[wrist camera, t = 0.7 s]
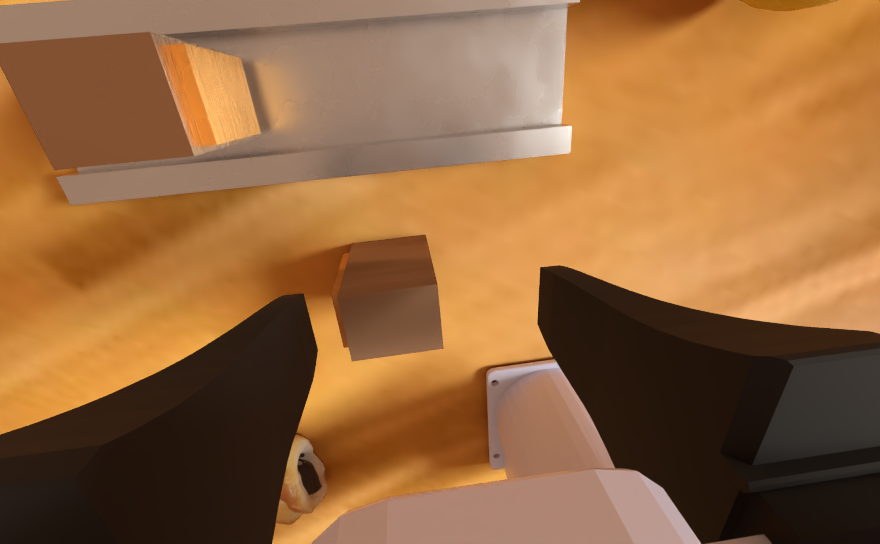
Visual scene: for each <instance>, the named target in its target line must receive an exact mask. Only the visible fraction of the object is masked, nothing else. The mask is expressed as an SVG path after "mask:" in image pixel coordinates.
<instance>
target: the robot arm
mask: <svg viewBox="0 0 880 544" xmlns="http://www.w3.org/2000/svg"><path fill="white" fill-rule="evenodd" d="M538 326H539V328H540V331H541V333H542V336H543V338H544V340H545V342H546V345H547V347H548V349H549V351H550V352H551V354H552V356H553V357H554V359H552V360H545V361H538V362H531V363H524V364H517V365H510V366H503V367H496V368H491V369H489V370H488V371H487V373H486V386H487V413H488V440H489V463H490V466H491V468H492V469H501V468H505V472H506V475H507V478H508V479H507V480H500V481H494V482H487V483H480V484H474V485H467V486H460V487H453V488H447V489H440V490H433V491H427V492H420V493H413V494H407V495H400V496H393V497H388V498H385V499H382V500H379V501H376V502H373V503H370V504H367V505H364V506H361V507H358V508H355V509H352V510H349V511H347V512H346V513H344V514H343V515H341V516H340V517H339V518H338V519H337V520H336V521H335V522H333V523H332V524H331V525H330V526H329V527H328V528H327V529H326V530H325V531H324V532H323V533H322V534H321V535H320V536H319V537H317V538H316V539H315V540H314V541H313V542H312V544H880V334H878V333H875V332H870V331H858V330H844V329H831V328H817V327H804V326H794V325H786V324H778V323H770V322H762V321H755V320H748V319H742V318H736V317H730V316H725V315H720V314H715V313H709V312H704V311H700V310H695V309H691V308H687V307H683V306H679V305H675V304H671V303H668V302H664V301H660V300H657V299H654V298H650V297H647V296H644V295H641V294H638V293H635V292H632V291H629V290H627V289H624V288H621V287H618V286H616V285H613V284H611V283H608V282H605V281H603V280H600V279H598V278H595V277H593V276H590V275H587V274H585V273H582V272H580V271H577V270H574V269H571V268H568V267H565V266H560V265H559V266H549V267H540V285H539V305H538ZM317 352H318V349H317V345H316V341H315V337H314V333H313V329H312V325H311V321H310V317H309V313H308V309H307V305H306V302H305V298H304V294H293V295H284V296H281V297H279V298H277V299H275V300H274V301H272V302H270V303H269V304H267V305H266V306H264V307H263V308H262V309H260V310H259V311H257V312H256V313H254V314H253V315H251V316H250V317H249V318H247V319H246V320H244V321H243V322H241V323H240V324H238V325H237V326H235V327H234V328H233V329H231V330H229V331H228V332H226V333H225V334H223V335H222V336H220V337H218V338H217V339H215V340H214V341H212V342H211V343H209V344H208V345H206V346H204V347H203V348H201V349H200V350H198V351H196V352H194V353H193V354H191V355H189V356H187V357H186V358H184V359H182V360H180V361H178V362H176V363H175V364H173V365H171V366H169V367H167V368H165V369H163V370H161V371H159V372H157V373H155V374H153V375H151V376H149V377H147V378H145V379H142V380H140V381H138V382H136V383H134V384H131V385H129V386H127V387H125V388H123V389H121V390H118V391H116V392H114V393H112V394H109V395H107V396H105V397H102V398H100V399H97V400H95V401H92V402H90V403H88V404H85V405H83V406H80V407H78V408H75V409H72V410H70V411H67V412H64V413H62V414H59V415H56V416H54V417H51V418H48V419H45V420H43V421H40V422H37V423H34V424H31V425H29V426H25V427H22V428H19V429H16V430H13V431H10V432H7V433H4V434H1V435H0V544H272V540H273V535H274V529H275V523H276V518H277V512H278V507H279V501H280V496H281V491H282V486H283V482H284V477H285V472H286V467H287V462H288V458H289V455H290V451H291V447H292V444H293V441H294V438H295V435H296V432H297V429H298V426H299V422H300V419H301V416H302V413H303V410H304V407H305V404H306V401H307V398H308V394H309V391H310V388H311V385H312V381H313V377H314V372H315V366H316V359H317ZM494 380H497V381H496V382H492V381H494Z"/></svg>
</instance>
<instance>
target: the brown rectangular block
mask: <svg viewBox="0 0 880 544" xmlns="http://www.w3.org/2000/svg"><path fill="white" fill-rule="evenodd" d="M331 295H332V300H333V304H334V308H335V312H336V316H337V321H338V325H339V329H340V333H341V337H342V342H343V346H344V348H345V347H349V351H350V355H351V359H352V361H358V360H365V359H372V358H379V357H387V356H394V355H401V354H408V353H416V352H423V351H430V350H437V349H443V338H442V328H441V318H440V307H439V297H438V287H437V281H436V277H435V273H434V268H433V264H432V260H431V256H430V251H429V247H428V243H427V239H426V235H421V236H412V237H404V238H395V239H386V240H378V241H369V242H361V243H352V246H351V249H350V253H344V254H343V257H342V260H341V263H340V266H339V269H338V272H337V276H336V279H335V282H334V285H333V288H332V291H331Z"/></svg>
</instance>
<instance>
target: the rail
mask: <svg viewBox="0 0 880 544" xmlns="http://www.w3.org/2000/svg"><path fill="white" fill-rule="evenodd" d="M579 2H580V0H70V1H56V2H42V3H28V4H14V5H0V66H1V68H2V70H3V72H4V74H5V76H6V78H7V80H8V82H9V84H10V86H11V87H12V89H13V91H14V93H15V95H16V97H17V99H18V101H19V103H20V105H21V107H22V109H23V111H24V113H25V114H26V116H27V118H28V120H29V122H30V124H31V126H32V128H33V130H34V132H35V134H36V136H37V138H38V139H39V141H40V143H41V145H42V147H43V149H44V151H45V153H46V155H47V157H48V159H49V161H50V163H51V165H52V166H53V168H54V170H59V169H69V168H77V170H78V172H75V173H71V174H67V175H63V176H58V177H56V178H57V180H58V182H59V184H60V186H61V187H62V189H63V191H64V193H65V195H66V197H67V199H68V201H69V203H70V205H80V204H89V203H99V202H108V201H118V200H128V199H137V198H147V197H156V196H166V195H175V194H185V193H194V192H204V191H213V190H223V189H232V188H242V187H252V186H261V185H271V184H280V183H290V182H299V181H309V180H318V179H328V178H337V177H347V176H357V175H366V174H376V173H385V172H395V171H404V170H414V169H423V168H433V167H442V166H452V165H462V164H471V163H481V162H490V161H500V160H509V159H519V158H528V157H538V156H547V155H557V154H567V153H570V147H571V132H572V126H571V125H565V124H561V118H562V99H563V81H564V62H565V43H566V25H567V9H568V8H570V7H572V6H573V5H575V4H577V3H579Z"/></svg>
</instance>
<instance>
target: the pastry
mask: <svg viewBox="0 0 880 544" xmlns="http://www.w3.org/2000/svg"><path fill="white" fill-rule="evenodd" d="M324 471H325V468H324V465H323V462H322V461H321V460H320V459H319V458H318V456H317V455H315V454H314V453H313V447H312V445H311V443H310V442H309V440H308V439H306V438H305V437H303V436H299V435H295V438H294V441H293V444H292V447H291V451H290V455H289V458H288V462H287V467H286V472H285V477H284V482H283V486H282V491H281V496H280V501H279V507H278V512H277V518H276V523H282V524H287V525H289V524H292V523H294V522H295V521H296V520H297V519H298V518H299V517H300V516H301V515H302V514H303V513H306V514H309V513H311V512H313V510H314V508H315V507H316V506H317V505H318V504H319V503H320V502H321V501H322V498H323V497H324V496H325V495H326V491H327V488H328V484H327V481H326V479H325V473H324Z"/></svg>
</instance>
